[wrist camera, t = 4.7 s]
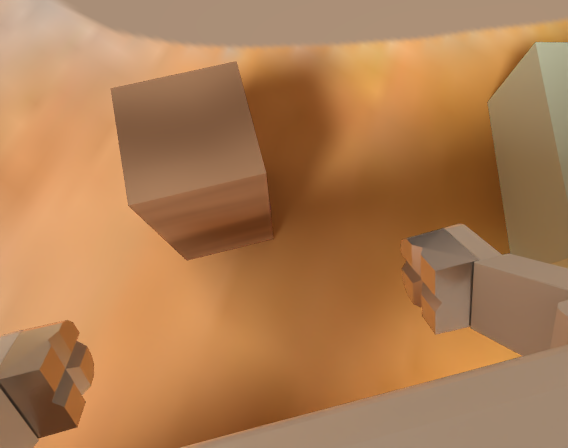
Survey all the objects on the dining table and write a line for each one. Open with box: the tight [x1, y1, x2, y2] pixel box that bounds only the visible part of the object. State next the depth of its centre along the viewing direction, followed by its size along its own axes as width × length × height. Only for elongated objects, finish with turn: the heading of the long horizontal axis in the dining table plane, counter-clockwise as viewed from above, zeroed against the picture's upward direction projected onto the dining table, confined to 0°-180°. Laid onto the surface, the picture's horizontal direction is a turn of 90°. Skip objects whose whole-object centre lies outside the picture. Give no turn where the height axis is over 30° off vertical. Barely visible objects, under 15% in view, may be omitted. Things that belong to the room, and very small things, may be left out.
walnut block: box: [111, 62, 274, 260], centre depth 18 cm, size 4×4×8 cm
